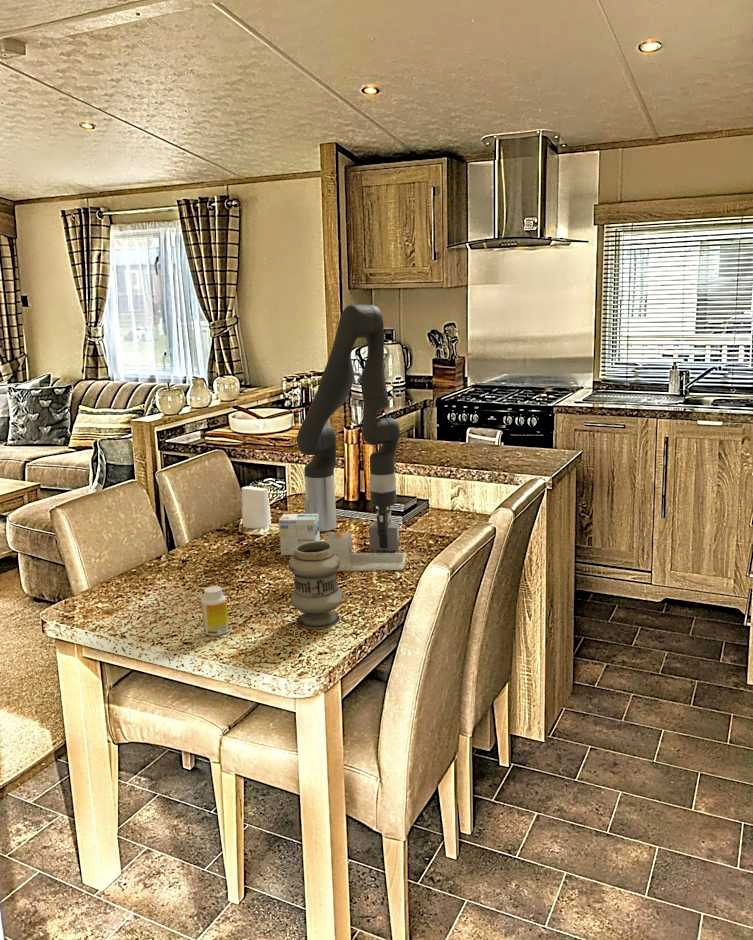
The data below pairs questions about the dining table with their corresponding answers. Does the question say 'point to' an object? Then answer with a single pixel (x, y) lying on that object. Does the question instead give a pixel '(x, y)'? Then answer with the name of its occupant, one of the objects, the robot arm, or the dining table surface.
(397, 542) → the module
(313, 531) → the light bulb box
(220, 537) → the dining table surface
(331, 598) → the apothecary jar
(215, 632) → the supplement bottle
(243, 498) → the upright white block
